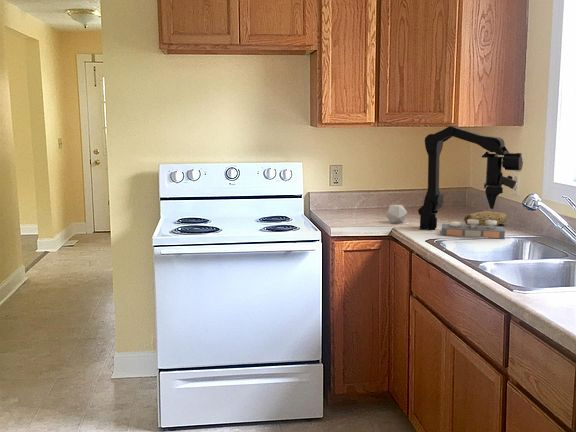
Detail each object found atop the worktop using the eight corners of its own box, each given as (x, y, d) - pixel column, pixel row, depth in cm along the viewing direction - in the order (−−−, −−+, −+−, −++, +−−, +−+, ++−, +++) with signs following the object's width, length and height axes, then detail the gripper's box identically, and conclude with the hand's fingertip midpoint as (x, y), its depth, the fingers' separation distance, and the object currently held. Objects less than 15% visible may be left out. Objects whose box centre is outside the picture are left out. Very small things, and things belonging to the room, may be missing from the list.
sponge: (474, 232, 279) (517, 221, 282) (470, 214, 279) (513, 203, 282) (462, 232, 292) (503, 222, 295) (458, 215, 292) (499, 205, 295)
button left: (448, 232, 265) (449, 222, 265) (448, 230, 270) (449, 221, 269) (460, 233, 264) (460, 223, 264) (459, 231, 269) (460, 221, 268)
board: (441, 235, 263) (441, 228, 262) (441, 230, 274) (442, 223, 273) (504, 239, 257) (505, 231, 257) (502, 234, 268) (503, 226, 267)
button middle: (466, 230, 263) (467, 220, 263) (466, 228, 268) (467, 218, 267) (478, 231, 262) (478, 221, 262) (478, 229, 267) (478, 219, 266)
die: (404, 222, 297) (392, 204, 298) (414, 215, 289) (401, 196, 290) (391, 231, 293) (378, 212, 294) (401, 224, 285) (388, 205, 286)
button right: (485, 231, 262) (485, 221, 261) (484, 229, 266) (485, 219, 265) (496, 232, 261) (497, 222, 260) (496, 230, 265) (496, 220, 264)
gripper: (517, 172, 249) (515, 213, 251) (513, 168, 267) (511, 206, 269) (486, 171, 251) (484, 211, 254) (484, 167, 269) (482, 205, 272)
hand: (491, 208), depth 262 cm, fingers closed
